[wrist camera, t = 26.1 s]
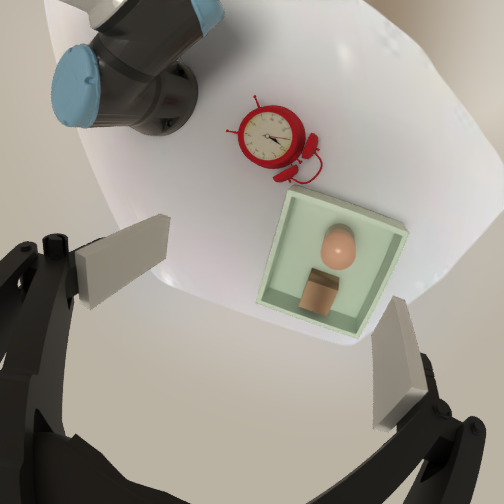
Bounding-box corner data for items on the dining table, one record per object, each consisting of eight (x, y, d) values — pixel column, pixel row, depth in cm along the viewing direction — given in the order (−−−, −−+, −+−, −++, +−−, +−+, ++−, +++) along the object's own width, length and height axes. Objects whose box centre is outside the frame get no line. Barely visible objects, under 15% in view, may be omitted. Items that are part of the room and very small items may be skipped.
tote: (264, 287, 52) (255, 302, 47) (294, 184, 44) (287, 189, 39) (358, 321, 49) (358, 339, 44) (402, 223, 41) (409, 232, 36)
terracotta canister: (320, 247, 46) (315, 263, 40) (329, 219, 44) (327, 231, 37) (348, 257, 45) (348, 274, 39) (358, 229, 43) (361, 243, 36)
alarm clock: (256, 85, 37) (332, 146, 34) (273, 97, 42) (340, 153, 40) (216, 137, 42) (282, 201, 39) (236, 142, 47) (296, 200, 44)
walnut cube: (303, 291, 49) (298, 306, 45) (312, 267, 47) (308, 280, 43) (329, 301, 48) (326, 316, 44) (339, 277, 46) (338, 290, 42)
